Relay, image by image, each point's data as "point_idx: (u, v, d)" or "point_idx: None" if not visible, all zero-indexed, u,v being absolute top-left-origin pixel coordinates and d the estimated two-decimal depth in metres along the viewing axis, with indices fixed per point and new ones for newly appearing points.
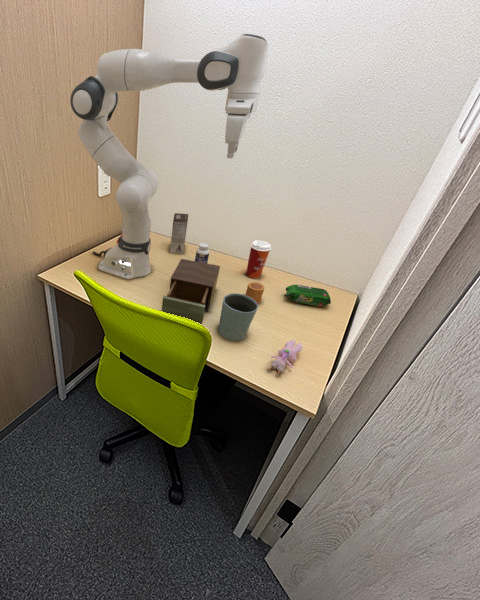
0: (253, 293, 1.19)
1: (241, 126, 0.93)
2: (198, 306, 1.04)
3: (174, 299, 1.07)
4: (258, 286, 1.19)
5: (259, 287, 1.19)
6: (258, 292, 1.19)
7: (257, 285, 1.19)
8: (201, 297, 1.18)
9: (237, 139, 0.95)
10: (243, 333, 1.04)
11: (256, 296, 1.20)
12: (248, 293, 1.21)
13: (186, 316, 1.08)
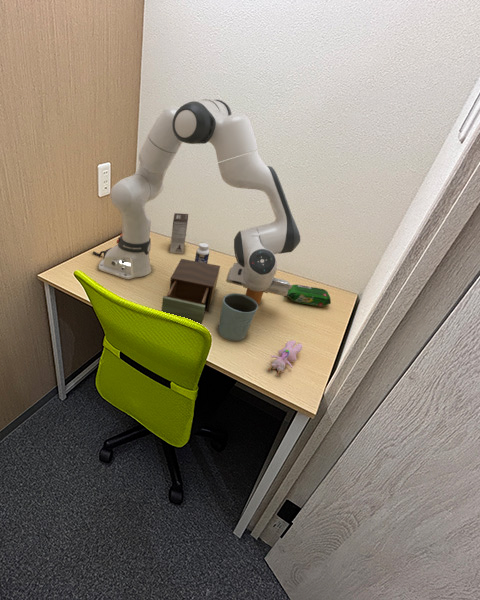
0: (253, 293, 1.19)
1: (226, 279, 1.17)
2: (198, 306, 1.04)
3: (174, 299, 1.07)
4: None
5: None
6: (258, 292, 1.19)
7: None
8: (201, 297, 1.18)
9: (226, 280, 1.20)
10: (243, 333, 1.04)
11: (256, 296, 1.20)
12: (248, 293, 1.21)
13: (186, 316, 1.08)
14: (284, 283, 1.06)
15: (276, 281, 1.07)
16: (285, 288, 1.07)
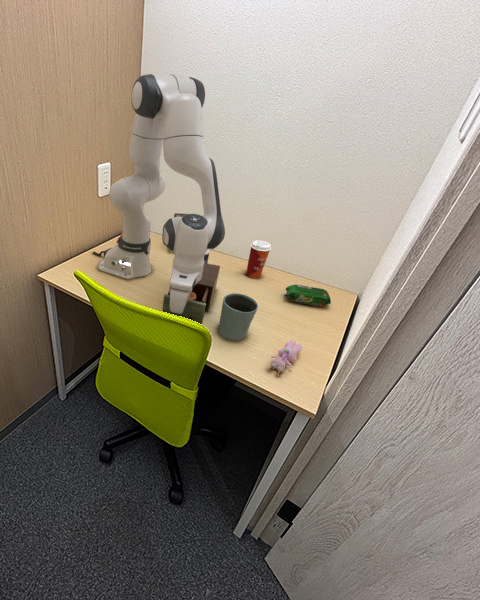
0: None
1: (184, 302, 0.93)
2: (199, 304, 1.05)
3: None
4: None
5: (190, 296, 1.11)
6: None
7: None
8: (202, 295, 1.19)
9: (181, 311, 0.95)
10: (243, 333, 1.04)
11: None
12: None
13: (187, 314, 1.09)
14: None
15: None
16: None
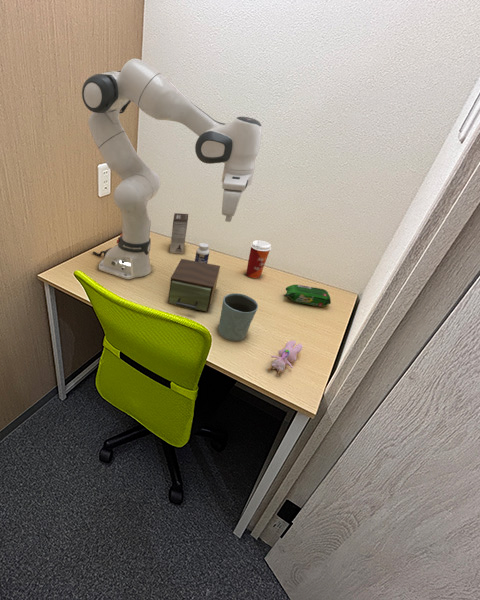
0: None
1: (237, 201, 0.98)
2: (204, 289, 1.12)
3: (182, 283, 1.15)
4: None
5: None
6: None
7: None
8: None
9: (233, 212, 1.00)
10: (243, 333, 1.04)
11: None
12: None
13: (193, 299, 1.16)
14: None
15: None
16: None
